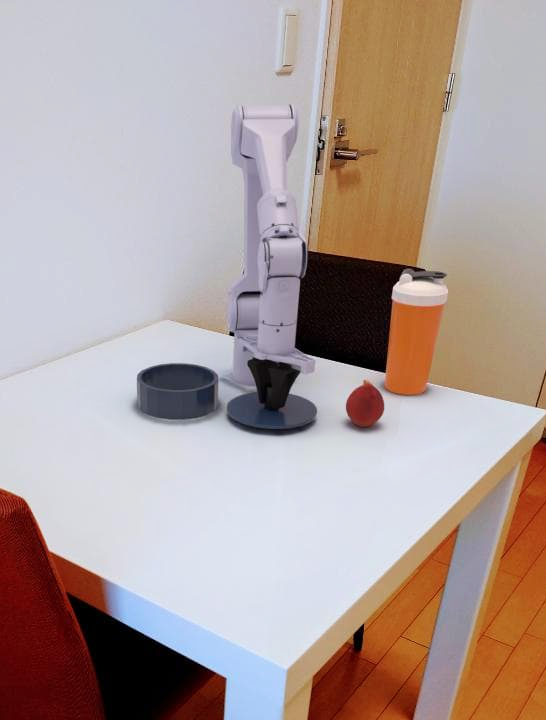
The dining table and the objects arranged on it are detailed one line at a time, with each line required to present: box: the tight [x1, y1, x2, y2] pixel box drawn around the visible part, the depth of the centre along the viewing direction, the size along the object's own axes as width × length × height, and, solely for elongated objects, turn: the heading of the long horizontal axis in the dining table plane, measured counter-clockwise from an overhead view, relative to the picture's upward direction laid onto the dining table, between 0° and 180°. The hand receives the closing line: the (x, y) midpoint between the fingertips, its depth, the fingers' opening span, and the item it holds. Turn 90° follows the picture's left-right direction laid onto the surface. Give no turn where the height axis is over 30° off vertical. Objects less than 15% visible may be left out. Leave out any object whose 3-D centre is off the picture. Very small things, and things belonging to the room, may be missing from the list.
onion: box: [345, 379, 385, 428], centre depth 126 cm, size 6×6×8 cm
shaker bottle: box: [384, 268, 449, 396], centre depth 138 cm, size 9×9×20 cm
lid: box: [226, 383, 318, 430], centre depth 129 cm, size 14×14×5 cm
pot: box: [136, 362, 219, 421], centre depth 134 cm, size 13×13×5 cm
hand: (271, 404), depth 129 cm, fingers closed on lid, 2 cm apart
